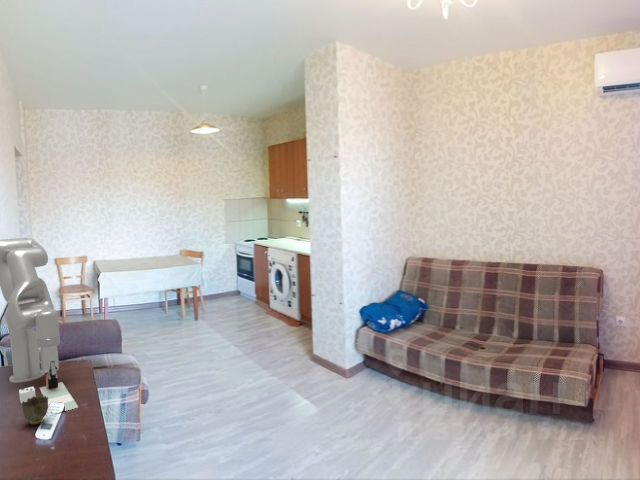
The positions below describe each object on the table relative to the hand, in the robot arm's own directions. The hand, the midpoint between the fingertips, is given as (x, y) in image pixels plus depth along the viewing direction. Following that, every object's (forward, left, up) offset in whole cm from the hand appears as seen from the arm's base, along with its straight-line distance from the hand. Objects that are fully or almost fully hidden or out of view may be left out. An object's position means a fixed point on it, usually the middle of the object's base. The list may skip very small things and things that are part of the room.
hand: (52, 385), depth 174 cm
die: (+7, -9, -1) cm, 11 cm away
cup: (+29, -9, -1) cm, 30 cm away
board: (+11, 0, -1) cm, 11 cm away
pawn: (0, 0, -1) cm, 1 cm away
